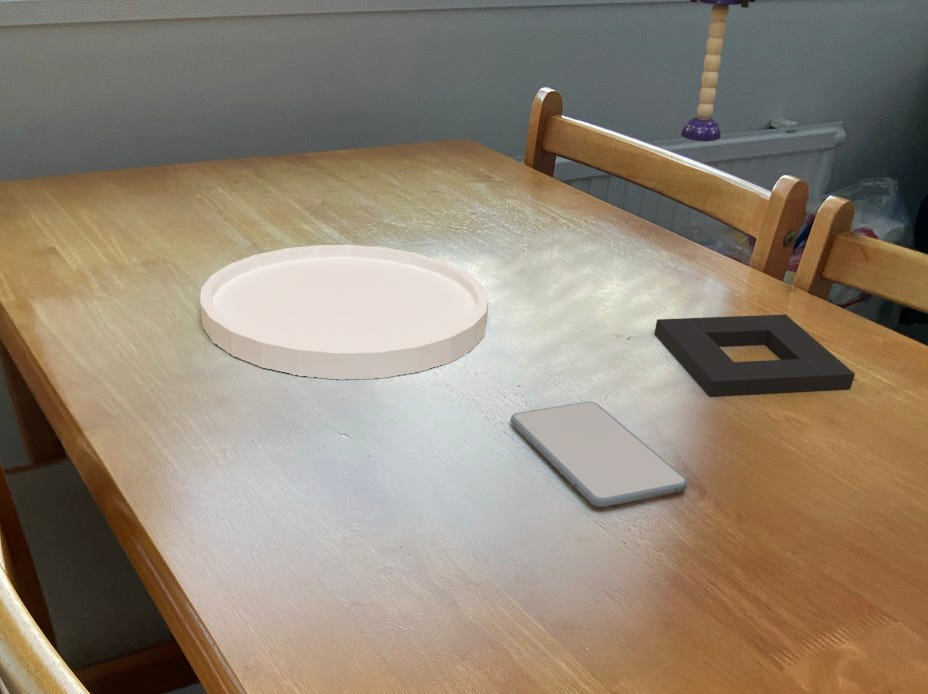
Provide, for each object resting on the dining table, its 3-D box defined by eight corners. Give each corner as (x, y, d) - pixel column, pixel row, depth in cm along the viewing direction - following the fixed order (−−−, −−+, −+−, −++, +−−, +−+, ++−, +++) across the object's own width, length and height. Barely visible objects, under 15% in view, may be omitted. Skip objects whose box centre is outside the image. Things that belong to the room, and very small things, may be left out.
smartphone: (594, 399, 86) (693, 482, 76) (593, 410, 87) (690, 493, 76) (507, 413, 84) (596, 501, 73) (506, 424, 84) (594, 513, 74)
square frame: (778, 343, 100) (786, 314, 98) (845, 405, 90) (855, 373, 88) (651, 349, 97) (656, 319, 96) (705, 413, 87) (713, 381, 86)
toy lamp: (676, 139, 110) (707, -45, 99) (675, 129, 113) (705, -50, 103) (720, 143, 109) (756, -42, 99) (718, 132, 113) (753, -47, 102)
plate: (143, 311, 99) (140, 286, 97) (353, 249, 115) (353, 227, 114) (336, 410, 85) (336, 383, 83) (544, 323, 101) (547, 299, 99)
